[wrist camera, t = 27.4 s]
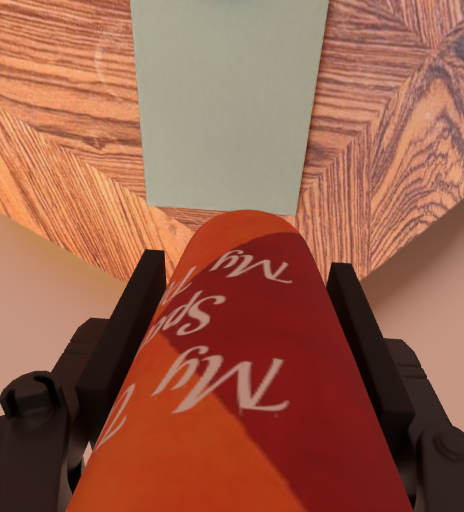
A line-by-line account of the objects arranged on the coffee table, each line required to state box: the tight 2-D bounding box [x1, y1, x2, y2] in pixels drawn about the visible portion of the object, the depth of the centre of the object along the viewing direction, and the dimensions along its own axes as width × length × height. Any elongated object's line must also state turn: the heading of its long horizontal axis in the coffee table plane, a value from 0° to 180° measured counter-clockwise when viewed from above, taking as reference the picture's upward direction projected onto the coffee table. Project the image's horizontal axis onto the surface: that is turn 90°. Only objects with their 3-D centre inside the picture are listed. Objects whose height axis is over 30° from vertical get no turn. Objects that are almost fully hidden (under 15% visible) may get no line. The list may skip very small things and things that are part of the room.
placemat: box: [130, 0, 329, 215], centre depth 27 cm, size 14×24×1 cm, turn 177°
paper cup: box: [65, 209, 414, 512], centre depth 10 cm, size 8×8×14 cm
